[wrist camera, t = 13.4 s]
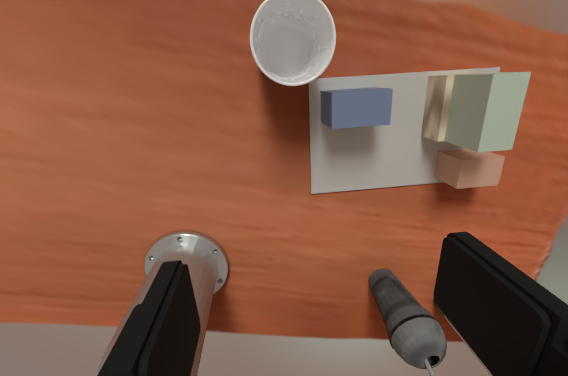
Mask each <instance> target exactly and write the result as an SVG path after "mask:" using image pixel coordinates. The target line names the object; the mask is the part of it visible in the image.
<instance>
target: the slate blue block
mask: <svg viewBox="0 0 568 376" xmlns="http://www.w3.org/2000/svg"><path fill="white" fill-rule="evenodd" d="M392 95H393V89H389V88H376V87H369V88H354V89H339V90H323V91H320V99H321V122H322V123H323V124H325V125H326V126H328V127H329V128H331V129H340V128H353V127H367V126H380V125H390V120H391V108H392Z"/></svg>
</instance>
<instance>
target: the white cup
mask: <svg viewBox="0 0 568 376" xmlns="http://www.w3.org/2000/svg"><path fill="white" fill-rule="evenodd" d="M335 44H336V30H335V25H334V21H333V18H332V16H331V14H330V12H329V10H328V8H327V7H326V6H325V4H324V3H323V2H322V1H321V0H265V1H264V2H263V3H262V4H261V6H260V7H259V8H258V10H257V12H256V14H255V16H254V18H253V21H252V25H251V30H250V45H251V50H252V54H253V57H254V59H255V61H256V63H257V65H258V67H259V68H260V69H261V71H262V72H263V73H264V74H265V75H266V76H267V77H268V78H270V79H271V80H273V81H275V82H277V83H279V84H282V85H286V86H299V85H304V84H307V83H309V82H311V81H313V80H314V79H316V78H317V77H318V76H320V75H321V74H322V73H323V72H324V70H325V69H326V68H327V66H328V65H329V63H330V61H331V59H332V56H333V53H334V50H335Z"/></svg>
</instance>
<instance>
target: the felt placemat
mask: <svg viewBox="0 0 568 376" xmlns="http://www.w3.org/2000/svg"><path fill="white" fill-rule="evenodd" d="M489 72H495V73H499V72H500V67H495V68H479V69H463V70H447V71H431V72H415V73H398V74H382V75H366V76H350V77H334V78H318V79H314V80H313V81H311V82H309V121H310V163H311V194H316V193H327V192H339V191H350V190H361V189H373V188H384V187H395V186H407V185H418V184H430V183H441V182H443V181H441V180H439V179H438V178H436V177H435V172H436V165H437V158H438V152H439V151H448V150H461V149H466V148H463V147H460V146H457V145H454V144H451V143H448V142H445V141H440V142H437V141H434V140H431V139H429V138H426V137H423V136H421V131H422V123H423V115H424V106H425V98H426V90H427V82H428V76H432V75H447V74H463V73H489ZM369 87H376V88H389V89H393V95H392V108H391V120H390V125H380V126H367V127H353V128H340V129H331V128H329V127H328V126H326V125H325V124H323V123H322V122H321V99H320V91H323V90H339V89H354V88H369Z"/></svg>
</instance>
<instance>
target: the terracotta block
mask: <svg viewBox="0 0 568 376" xmlns="http://www.w3.org/2000/svg"><path fill="white" fill-rule="evenodd" d="M504 159H505V157H504V156H501V155H498V154H494V153H491V152H475V151H472V150H469V149H461V150H448V151H439V152H438V158H437V165H436V172H435V177H436V178H438V179H439V180H441V181H443V182H445V183H447V184H448V185H450V186H452V187H454V188H456V189H461V188H472V187H483V186H494V185H498V184H499V180H500V176H501V172H502V167H503V163H504Z"/></svg>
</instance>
